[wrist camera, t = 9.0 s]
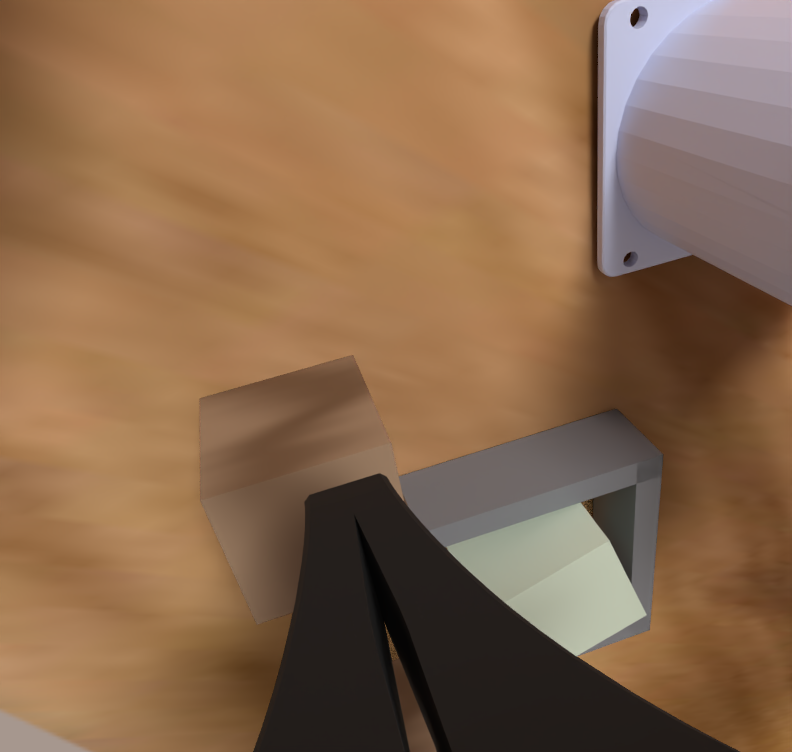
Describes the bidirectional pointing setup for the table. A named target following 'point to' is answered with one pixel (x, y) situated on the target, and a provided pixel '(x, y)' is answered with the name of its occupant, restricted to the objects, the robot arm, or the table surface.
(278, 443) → the walnut block
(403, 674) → the walnut block
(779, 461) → the table surface
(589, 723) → the robot arm
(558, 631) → the sage block
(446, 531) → the corral
